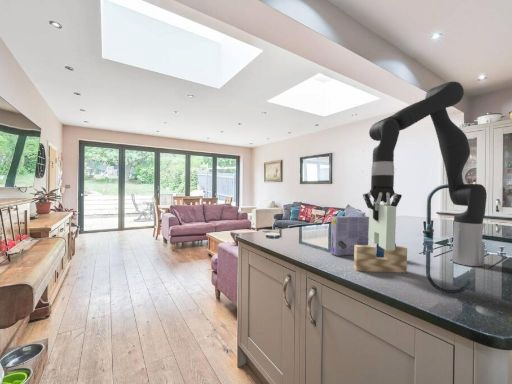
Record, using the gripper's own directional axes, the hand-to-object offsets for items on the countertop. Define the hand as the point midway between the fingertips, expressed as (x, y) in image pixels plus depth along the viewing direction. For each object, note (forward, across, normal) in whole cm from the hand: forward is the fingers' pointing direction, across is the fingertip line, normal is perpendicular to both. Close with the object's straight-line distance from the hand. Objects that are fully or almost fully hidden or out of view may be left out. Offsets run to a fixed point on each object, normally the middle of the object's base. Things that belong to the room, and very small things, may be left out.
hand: (381, 220), depth 94 cm
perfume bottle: (+19, -10, -18) cm, 28 cm away
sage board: (+9, 0, 0) cm, 9 cm away
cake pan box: (+19, +4, -23) cm, 30 cm away
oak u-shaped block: (+19, 0, 0) cm, 19 cm away
